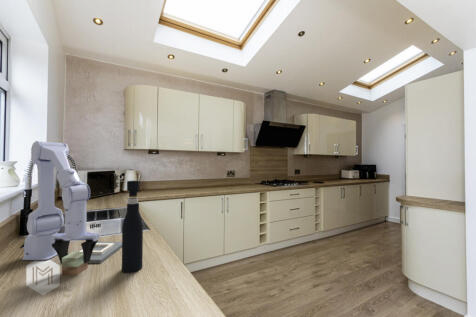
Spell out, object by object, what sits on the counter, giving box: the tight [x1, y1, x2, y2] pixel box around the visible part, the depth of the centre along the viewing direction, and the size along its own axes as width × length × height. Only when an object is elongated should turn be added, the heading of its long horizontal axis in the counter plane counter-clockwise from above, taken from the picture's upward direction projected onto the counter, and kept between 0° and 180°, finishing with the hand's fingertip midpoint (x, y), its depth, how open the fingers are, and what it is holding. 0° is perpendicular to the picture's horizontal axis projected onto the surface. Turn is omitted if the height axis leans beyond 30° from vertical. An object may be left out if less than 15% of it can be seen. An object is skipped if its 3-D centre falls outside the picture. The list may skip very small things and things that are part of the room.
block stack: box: [61, 251, 89, 276], centre depth 74 cm, size 5×5×6 cm
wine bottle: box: [121, 180, 144, 274], centre depth 76 cm, size 6×6×30 cm
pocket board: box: [76, 241, 122, 264], centre depth 89 cm, size 14×18×2 cm
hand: (75, 262), depth 74 cm, fingers open, 7 cm apart
